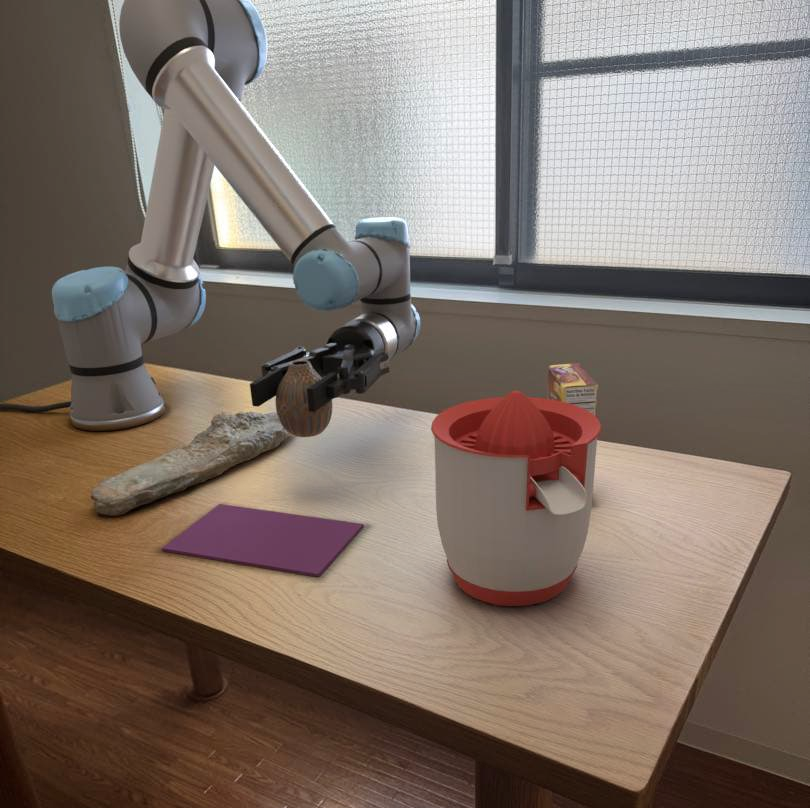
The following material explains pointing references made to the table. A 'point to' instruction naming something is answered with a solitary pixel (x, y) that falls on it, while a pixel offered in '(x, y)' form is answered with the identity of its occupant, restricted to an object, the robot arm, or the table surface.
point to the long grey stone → (191, 461)
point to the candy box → (572, 386)
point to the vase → (300, 402)
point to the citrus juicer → (514, 494)
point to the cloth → (266, 539)
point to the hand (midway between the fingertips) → (282, 397)
